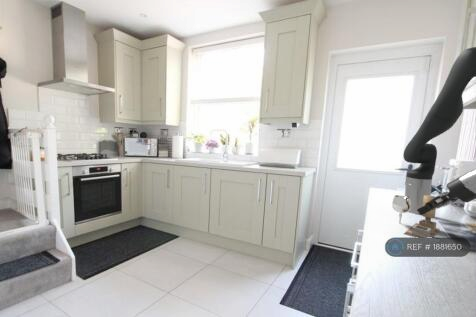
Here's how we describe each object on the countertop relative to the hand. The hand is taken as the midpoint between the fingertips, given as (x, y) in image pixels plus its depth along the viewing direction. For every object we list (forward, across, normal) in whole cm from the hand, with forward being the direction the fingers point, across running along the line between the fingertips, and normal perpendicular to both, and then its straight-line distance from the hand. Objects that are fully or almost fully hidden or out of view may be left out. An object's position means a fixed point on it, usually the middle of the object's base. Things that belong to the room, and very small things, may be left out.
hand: (421, 211), depth 82 cm
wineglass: (+9, +3, +2) cm, 10 cm away
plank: (+3, +5, +7) cm, 9 cm away
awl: (+3, 0, +6) cm, 6 cm away
